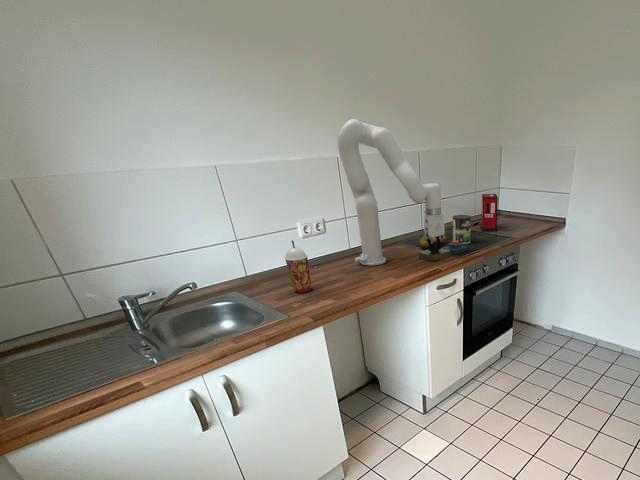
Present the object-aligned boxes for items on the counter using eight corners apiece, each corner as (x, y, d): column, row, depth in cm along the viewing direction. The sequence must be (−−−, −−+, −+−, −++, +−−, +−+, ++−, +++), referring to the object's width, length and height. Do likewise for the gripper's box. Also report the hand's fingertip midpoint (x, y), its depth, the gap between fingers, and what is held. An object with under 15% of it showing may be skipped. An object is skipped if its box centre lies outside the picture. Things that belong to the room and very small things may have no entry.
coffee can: (474, 242, 221) (474, 216, 213) (460, 245, 215) (460, 218, 208) (462, 239, 228) (462, 214, 220) (449, 242, 222) (448, 216, 215)
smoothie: (289, 290, 157) (277, 240, 147) (308, 285, 162) (297, 236, 152) (298, 295, 152) (286, 244, 142) (317, 289, 157) (307, 240, 147)
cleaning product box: (496, 231, 244) (497, 197, 234) (482, 231, 244) (483, 197, 234) (494, 225, 258) (496, 193, 248) (481, 226, 258) (482, 194, 248)
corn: (415, 234, 206) (440, 227, 219) (415, 248, 210) (439, 241, 223) (425, 237, 202) (450, 230, 215) (425, 251, 206) (449, 244, 219)
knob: (434, 252, 191) (434, 241, 188) (429, 251, 194) (428, 240, 191) (440, 251, 194) (440, 240, 191) (434, 249, 196) (434, 239, 193)
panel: (432, 261, 188) (432, 255, 187) (418, 258, 194) (418, 251, 193) (450, 256, 196) (450, 250, 194) (437, 252, 202) (437, 246, 201)
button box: (454, 254, 198) (454, 247, 196) (442, 251, 204) (441, 244, 202) (468, 250, 205) (468, 243, 203) (456, 247, 210) (456, 240, 208)
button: (455, 245, 200) (455, 242, 199) (450, 244, 202) (450, 241, 202) (460, 244, 202) (460, 240, 202) (455, 243, 205) (455, 239, 204)
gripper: (425, 215, 177) (427, 254, 186) (451, 210, 187) (451, 248, 196) (415, 213, 181) (417, 252, 190) (440, 208, 191) (441, 245, 201)
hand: (434, 249), depth 193 cm, fingers closed on knob, 4 cm apart
